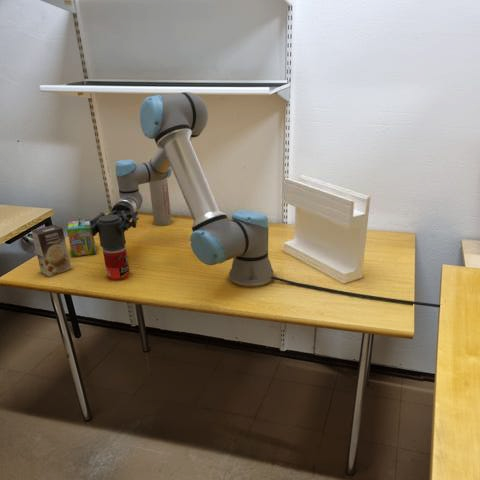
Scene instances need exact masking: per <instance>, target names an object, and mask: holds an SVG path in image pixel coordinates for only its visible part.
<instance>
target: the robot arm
mask: <svg viewBox="0 0 480 480" xmlns="http://www.w3.org/2000/svg"><path fill="white" fill-rule="evenodd" d="M139 108H140V109H139V124H140V128H141V132H142V133H143V135H144V136H145V137H146V138H147V139H150V140H153V139H154V142H155V145H156V147H157V150H156V151H155V153H154V154H153V156H152V157H151V158H150V160H148V161H145V162H139V163H136V161H135V160H134V159H120V160H117V161H116V162H115V165H114V167H115V176H116V182H117V187H118V194H119V195H118V196H119V200H117V201H116V203H115V204H114V205H113V206H112V208H111V211H110V212H108V213H105V212H103V211H102V212H100V213H99V214H98V215H96V216H95V217H93V218H92V219H89V220H90V224H91V231H92V236H94V237H95V236H96V235H97V234H99V233H98V228H97V222H96V221H97V220H98V219H99V217H101V216H104V215H111V214H113V215H118V216H119V217H121V218H122V224H121V225H120V226H119V228H118V230H119V236H122V235H123V233H124V234H125V232H126V231H128V230H129V229H131V228H133V229H136V228H137V224H138V220H140V218H139V217H140V216H139V212H138V211H139V210H140V209H141V207H142V204H143V200H144V199H143V196H142V194H141V192H140V186H139V185H143V184H149V182H153V181H158V180H163V179H166V178H167V179H168V178H170V177H171V176H172V172H173V174H174V177H175V179H176V182H177V184H178V186H179V189H180V191H181V194H182V196H183V198H184V201H185V203H186V205H187V209H188V210H189V213H190V215H191V218H192V220H193V223H192V226H191V230H192V233H191V235H190V238H189V241H190V247H191V250H192V253H193V255H195V257H196V258H197V260H199V261H200V262H201V263H203V264H204V265H207V266H215V265H218V264H219V265H220V264H223V263H224V262H227V261H230V260H232V259H233V260H232V263H231V268H230V269H229V274H228V278H229V281H230V282H231V283H232V284H234V285H236V286H239V287H244V288H258V287H263V286H266V285H268V284H270V283H271V282H272V281H273V280H275V281H278V282H282V283H286V284H290V285H293V286H299V287H303V288H304V287H305V288H310V289H315V290H320V291H325V292H330V293H335V294H341V295H346V296H353V297H359V298H366V299H373V300H378V301H379V300H380V301H385V302H392V303H393V302H394V303H401V304H407V305H417V306H425V307H431V308H432V307H433V308H439V309H441V308H440V305H441V304H439V303H438V304H437V303H430V302H422V301H415V300H406V299H398V298H391V297H390V298H389V297H383V296H376V295H370V294H364V293H357V292H350V291H344V290H340V289H339V290H338V289H334V288H328V287H323V286H317V285H312V284H306V283H301V282H296V281H291V280H289V279H284V278H281V277H276V276H274V269H273V267H272V263H271V260H270V258H269V228H270V227H269V218H268V216H267V215H266V214H264V213H262V212H260V211H255V210H236V211H234V212H232V216H231V219H230V220H229V218H228V216H227V214H226V213H225V212H222V211H220V209H219V206H218V204H217V202H216V200H215V197H214V195H213V193H212V190H211V187H210V185H209V183H208V180H207V178H206V175H205V173H204V171H203V170H204V169H203V168H202V166H201V164H200V160H199V159H198V156H197V154H196V151H195V149H194V147H193V144H192V142H191V141H192V140H193V139H194V138H197V137H199V136H200V135H201V134H202V133H203V132H204V130H205V128H206V126H207V124H208V122H209V121H208V119H209V110H208V108H207V105H206V103H205V102H204V100H203V99H202V98H201V97H200V96H199V95H197V94H195V93H193V92H188V91H183V92H177V93H168V94H167V93H166V94H156V95H152V96H147V97H145V99H143V101H142V102H141V105H140V107H139Z"/></svg>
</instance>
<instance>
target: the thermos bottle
mask: <svg viewBox="0 0 480 480" xmlns="http://www.w3.org/2000/svg"><path fill="white" fill-rule="evenodd" d="M168 184H169V183H168V178H166V179H163V180H158V181H153V182H148V186H149V193H150V194H149V195H150V200H151V201H150V202H151V211H152V219H153V225H155V226H161V227H162V226H168V225H171V224H172V214H171V205H170V203H171V202H170V194H169V185H168Z"/></svg>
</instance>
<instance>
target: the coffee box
mask: <svg viewBox="0 0 480 480" xmlns="http://www.w3.org/2000/svg"><path fill="white" fill-rule="evenodd" d="M30 231H31V236H32V240H33V244H34V249H35V252H36V258H37V261H38V265H39V269H40V273H42V274H44V275H45V276H46V277H49V278H50V277H53V276H55V275H58V274H62V273H64V272H67V271H71V270H72V266H71V265H72V264H71V261H70V257H69V252H68V247H67V243H66V237H65V233H64V228H63V227H62V226H59V225H56V224H52V225H48V226H44V227H39V228H35V229H31V230H30Z"/></svg>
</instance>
